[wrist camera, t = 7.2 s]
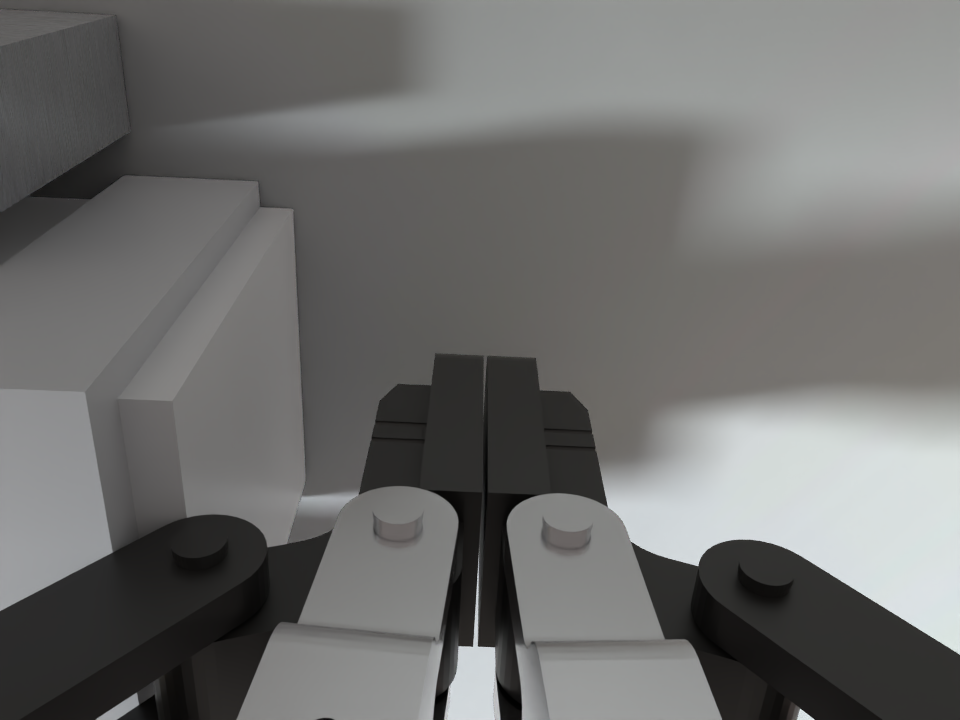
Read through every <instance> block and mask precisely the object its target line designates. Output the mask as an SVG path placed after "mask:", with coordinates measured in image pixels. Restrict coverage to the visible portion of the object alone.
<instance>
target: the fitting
mask: <svg viewBox="0 0 960 720" xmlns="http://www.w3.org/2000/svg"><path fill="white" fill-rule="evenodd" d="M305 483H306V470H305V449H304V428H303V407H302V386H301V365H300V344H299V323H298V302H297V281H296V260H295V239H294V218H293V209H290V208H268V207H260V198H259V182H258V181H240V180H219V179H197V178H176V177H154V176H132V175H124V176H122V177H121V178H120V179H118V180H117V181H116V182H114V183H113V184H111V185H110V186H109V187H107V188H106V189H105V190H103V191H102V192H101V193H99V194H98V195H96V196H95V197H94V198H92V199H70V198H49V197H27V196H26V197H25V198H23V199H22V200H20V201H18V202H17V203H15V204H14V205H12V206H10V207H9V208H7V209H6V210H4V211H2V212H1V213H0V611H1V610H3V609H5V608H7V607H9V606H11V605H13V604H15V603H16V602H18V601H20V600H22V599H24V598H26V597H28V596H30V595H32V594H34V593H36V592H38V591H40V590H41V589H43V588H45V587H47V586H49V585H51V584H53V583H55V582H57V581H59V580H61V579H63V578H65V577H67V576H68V575H70V574H72V573H74V572H76V571H78V570H80V569H82V568H84V567H86V566H88V565H90V564H92V563H93V562H95V561H97V560H99V559H101V558H103V557H105V556H107V555H109V554H111V553H113V552H115V551H117V550H119V549H120V548H122V547H124V546H126V545H128V544H130V543H132V542H134V541H136V540H138V539H140V538H142V537H144V536H145V535H147V534H149V533H151V532H153V531H155V530H157V529H159V528H161V527H163V526H165V525H167V524H169V523H172V522H174V521H177V520H180V519H183V518H188V517H192V516H199V515H210V514H218V515H229V516H234V517H238V518H241V519H244V520H246V521H248V522H250V523H252V524H254V525H255V526H256V527H257V528H259V529H260V531H261V532H262V533H263V534H264V537H265V539H266V542H267V547H273V546H278V545H284V544H287V543H288V539H289V536H290V533H291V529H292V526H293V523H294V519H295V516H296V513H297V509H298V506H299V503H300V499H301V496H302V493H303V489H304V486H305ZM153 695H155V693H154V687H153V682H152V683H150V684H149V685H147V686H146V687H144V688H143V689H141V690H140V691H138V692H137V693H135V694H134V695H132V696H131V697H129V698H128V699H126V700H125V701H123V702H121V703H120V704H118V705H117V706H115V707H114V708H112V709H111V710H109V711H108V712H106V713H105V714H103V715H102V716H100V717H99V718H97V719H96V720H117V719H119V718H120V717H122V716H123V715H125V714H126V713H128V712H129V711H131V710H132V709H134V708H135V707H137V706H138V705H140V704H141V703H143V702H144V701H146V700H147V699H149V698H150V697H152V696H153Z"/></svg>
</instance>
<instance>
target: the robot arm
mask: <svg viewBox="0 0 960 720" xmlns="http://www.w3.org/2000/svg"><path fill="white" fill-rule="evenodd" d="M483 366H484V356H479V355H458V354H437V353H435V360H434V368H433V376H432V385H431V386H430V385H409V384H397V385H396V386H395V387H394V388H393V389H392V390H391V391H390V392H389V393H388V394H387V395H386V396H384V397H383V398H382V399H381V400H380V402H379V407H378V411H377V416H376V420H375V425H374V429H373V434H372V441H371V443H370V447H369V451H368V456H367V460H366V465H365V469H364V474H363V478H362V483H361V487H360V492H359V495H358V496H356V497H355V498H353V499H352V500H350V501H349V502H348V503H347V504H346V505H345V506H344V507H343V508H342V510H341V511H340V513H339V515H338V518H337V520H336V523H335V526H334V528H333V530H331V531H330V532H328V533H325V534H323V535H321V536H318V537H315V538H312V539H309V540H305V541H300V542H296V543H290V544H284V545H278V546H273V547H267V542H266V539H265V537H264V534H263V533H262V532H261V531H260V529H259V528H257V527H256V526H255V525H254V524H252V523H250V522H248V521H246V520H244V519H241V518H238V517H234V516H229V515H218V514H210V515H199V516H192V517H188V518H183V519H180V520H177V521H174V522H172V523H169V524H167V525H165V526H163V527H161V528H159V529H157V530H155V531H153V532H151V533H149V534H147V535H145V536H144V537H142V538H140V539H138V540H136V541H134V542H132V543H130V544H128V545H126V546H124V547H122V548H120V549H119V550H117V551H115V552H113V553H111V554H109V555H107V556H105V557H103V558H101V559H99V560H97V561H95V562H93V563H92V564H90V565H88V566H86V567H84V568H82V569H80V570H78V571H76V572H74V573H72V574H70V575H68V576H67V577H65V578H63V579H61V580H59V581H57V582H55V583H53V584H51V585H49V586H47V587H45V588H43V589H41V590H40V591H38V592H36V593H34V594H32V595H30V596H28V597H26V598H24V599H22V600H20V601H18V602H16V603H15V604H13V605H11V606H9V607H7V608H5V609H3V610H1V611H0V720H96V719H97V718H99V717H100V716H102V715H103V714H105V713H106V712H108V711H109V710H111V709H112V708H114V707H115V706H117V705H118V704H120V703H121V702H123V701H125V700H126V699H128V698H129V697H131V696H132V695H134V694H135V693H137V692H138V691H140V690H141V689H143V688H144V687H146V686H147V685H149V684H150V683H152V682H153V687H154V693H155V695H153V696H152V697H150V698H149V699H147V700H146V701H144V702H143V703H141V704H140V705H138V706H137V707H135V708H134V709H132V710H131V711H129V712H128V713H126V714H125V715H123V716H122V717H120V718H119V719H117V720H447V718H448V711H449V704H450V688H451V683H452V681H453V679H454V677H455V674H456V670H457V660H458V646H471V647H473V638H474V621H475V605H476V589H477V573H478V556H479V601H478V647H495V658H496V667H495V680H494V693H493V706H494V716H495V720H797V717H798V714H799V710H800V709H802V710H803V711H804V712H806V713H807V714H808V715H810V716H811V717H812V718H814V719H815V720H960V655H959V654H958V653H956V652H954V651H953V650H951V649H950V648H948V647H946V646H945V645H943V644H942V643H940V642H938V641H937V640H935V639H933V638H932V637H930V636H929V635H927V634H925V633H924V632H922V631H921V630H919V629H917V628H916V627H914V626H912V625H911V624H909V623H908V622H906V621H904V620H903V619H901V618H900V617H898V616H896V615H895V614H893V613H892V612H890V611H888V610H887V609H885V608H883V607H882V606H880V605H879V604H877V603H875V602H874V601H872V600H871V599H869V598H867V597H866V596H864V595H862V594H861V593H859V592H858V591H856V590H854V589H853V588H851V587H850V586H848V585H846V584H845V583H843V582H841V581H840V580H838V579H837V578H835V577H833V576H832V575H830V574H829V573H827V572H825V571H824V570H822V569H821V568H819V567H817V566H816V565H814V564H812V563H811V562H809V561H808V560H806V559H804V558H803V557H801V556H799V555H797V554H796V553H794V552H792V551H790V550H787V549H785V548H783V547H780V546H777V545H774V544H771V543H766V542H762V541H755V540H731V541H726V542H722V543H719V544H717V545H714V546H712V547H711V548H710V549H708V550H707V551H706V552H705V553H704V554H703V555H702V557H701V559H700V562H699V566H695V565H691V564H687V563H683V562H679V561H676V560H672V559H668V558H665V557H662V556H658V555H656V554H653V553H651V552H648V551H646V550H644V549H642V548H640V547H639V546H637V545H635V544H634V543H632V542H631V541H630V538H629V535H628V533H627V530H626V527H625V525H624V523H623V521H622V520H621V519H620V518H619V516H618V515H617V514H616V513H614V512H613V511H612V510H611V509H609V508H608V506H607V501H606V496H605V492H604V487H603V482H602V477H601V472H600V467H599V462H598V458H597V453H596V451H595V443H594V438H593V435H592V428H591V424H590V419H589V414H588V410H587V409H586V408H585V407H584V406H583V405H582V404H581V403H580V402H579V401H578V400H577V399H576V398H575V397H574V396H573V395H572V394H571V393H570V392H560V391H540V390H539V381H538V372H537V363H536V358H524V357H503V356H487V365H486V381H485V398H484V415H483Z"/></svg>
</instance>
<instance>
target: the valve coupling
mask: <svg viewBox="0 0 960 720" xmlns="http://www.w3.org/2000/svg"><path fill="white" fill-rule="evenodd" d="M129 132H131V131H130V123H129V115H128V107H127V99H126V91H125V83H124V75H123V67H122V59H121V51H120V43H119V36H118V28H117V20H116V15H105V14H86V13H67V12H48V11H29V10H10V9H0V213H1V212H2V211H4V210H6V209H7V208H9V207H10V206H12V205H14V204H15V203H17V202H18V201H20V200H22V199H23V198H25V197H26V196H28V195H30V194H31V193H33V192H34V191H36V190H38V189H39V188H41V187H43V186H44V185H46V184H47V183H49V182H51V181H52V180H54V179H55V178H57V177H59V176H60V175H62V174H63V173H65V172H67V171H68V170H70V169H71V168H73V167H75V166H76V165H78V164H79V163H81V162H83V161H84V160H86V159H88V158H89V157H91V156H92V155H94V154H96V153H97V152H99V151H100V150H102V149H104V148H105V147H107V146H108V145H110V144H112V143H113V142H115V141H116V140H118V139H120V138H121V137H123V136H124V135H126V134H128V133H129Z"/></svg>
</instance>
